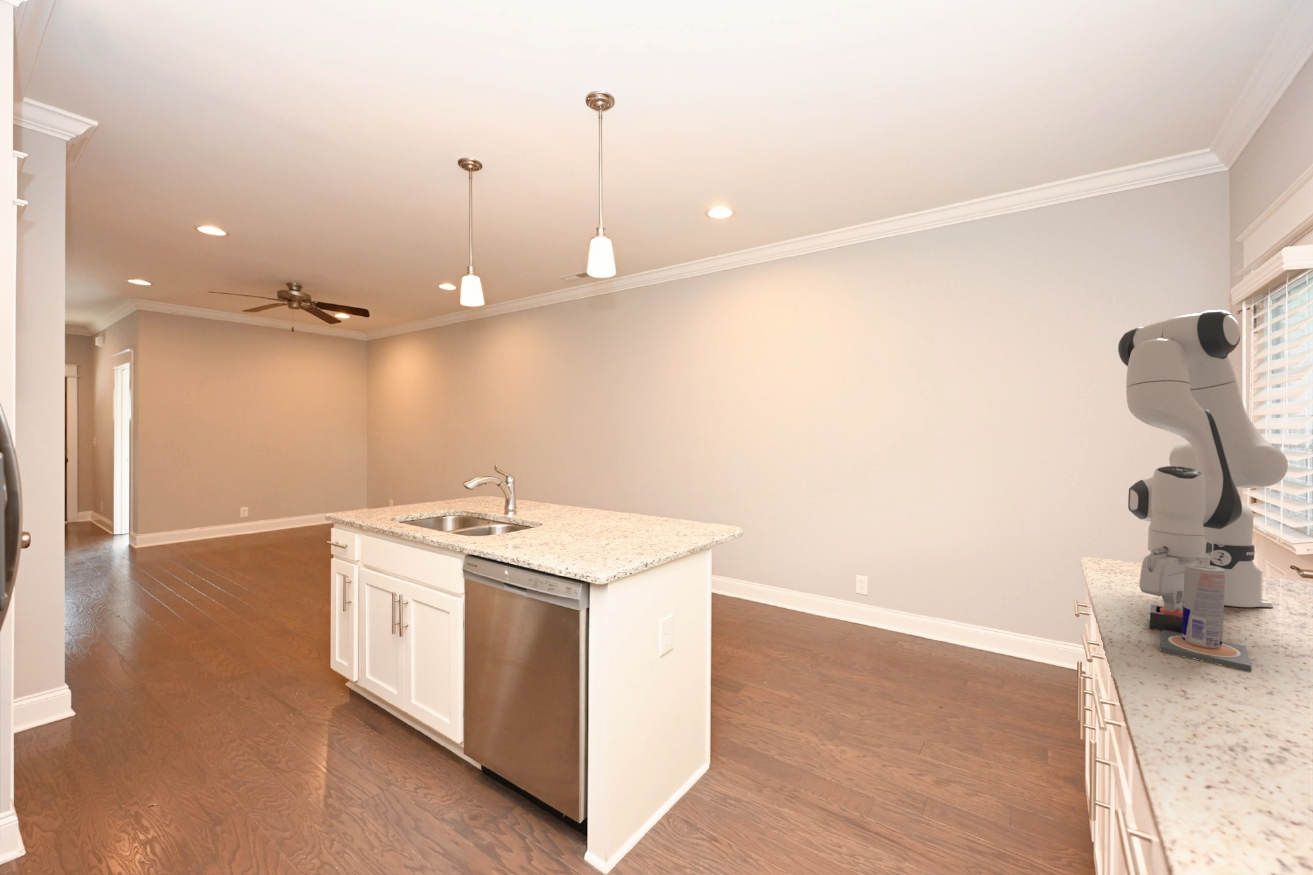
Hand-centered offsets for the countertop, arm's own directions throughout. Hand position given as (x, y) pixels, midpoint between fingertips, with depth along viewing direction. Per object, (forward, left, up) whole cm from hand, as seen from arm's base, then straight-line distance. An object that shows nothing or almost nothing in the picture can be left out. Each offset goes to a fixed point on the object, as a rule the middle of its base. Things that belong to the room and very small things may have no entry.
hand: (1172, 610), depth 121 cm
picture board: (+12, +5, -4) cm, 13 cm away
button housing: (0, 0, -4) cm, 4 cm away
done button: (0, 0, -3) cm, 3 cm away
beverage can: (+11, +4, -3) cm, 12 cm away
